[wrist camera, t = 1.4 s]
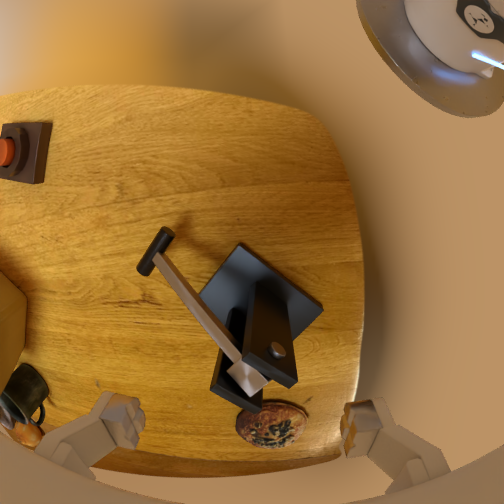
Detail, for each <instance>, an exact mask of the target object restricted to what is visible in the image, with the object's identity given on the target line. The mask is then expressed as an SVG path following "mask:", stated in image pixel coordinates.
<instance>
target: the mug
mask: <svg viewBox="0 0 504 504" xmlns="http://www.w3.org/2000/svg"><path fill="white" fill-rule="evenodd" d="M47 396H48V388H47V385H46V383H45V382H44V380H43V379H42V377H41V376H40V375H39V374H38V373H37V372H36V371H35V370H34V369H33V368H32V367H30V366H28V365H26V364H21V365H20V366H19V367H18V368H17V369H16V370H15V371H14V372H13V373H12V374H11V377H10V379H9V381H8V382H7V384H6V386H5V388H4V390H3V392H2V394H1V396H0V403H1V404H2V406H3V407H4V408H5V409H6V411H7V412H8V413H9V414H10V415H11V416H12V417H13V418H15V419H16V420H17V421H19V422H20V423H22V424H25V425H27V424H28V423H29V422H30V423H31V424H32V425H34V426H40V425H41V424H42V423H43V421H44V418H45V408H44V406H43V404H42V402H43V401H44V400H45V398H46V397H47ZM38 407H40V417H39V420H38V421H37V422H36V423H35V422H34V421H33V420H32V419H31V416H32V415H33V414H34V412H35V411H36V410H37V408H38Z"/></svg>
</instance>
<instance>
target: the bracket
mask: <svg viewBox="0 0 504 504" xmlns="http://www.w3.org/2000/svg"><path fill="white" fill-rule="evenodd" d="M198 295H199V296H200V298H201V299H202V300H203V301H204V302H205V304H206V305H207V306H208V307H209V308H210V310H211V311H212V312H213V313H214V314H215V316H216V317H217V318H218V319H219V320H220V321H221V323H222V324H223V325H224V326H225V327H226V328H227V330H228V331H229V332H230V333H231V334H232V335H233V336H234V338H235V339H236V340H237V341H238V342H239V343H240V344H241V345H242V347H243V351H242V359H241V361H243V362H244V363H246V364H248V365H249V366H251V367H252V368H254V369H256V370H257V371H259V372H261V373H262V374H264V375H266V376H267V377H269V378H271V379H273V380H274V381H276V382H278V383H279V384H281V385H283V386H285V387H287V388H288V389H290V388H291V387H292V386H293V385H294V384H296V383H297V382H298V377H297V369H296V362H295V355H294V348H293V340H294V339H296V338H297V337H298V336H299V335H300V334H301V333H302V332H303V331H304V330H305V329H306V328H307V327H308V326H309V325H310V324H311V323H312V322H313V321H314V320H315V319H316V318H317V317H318V316H319V315H320V314H321V313H322V312H323V311H324V309H323V307H322V305H321V304H319V303H318V302H317V301H315V300H314V299H313V298H312V297H310V296H309V295H308V294H306V293H305V292H304V291H302V290H301V289H300V288H299V287H297V286H296V285H295V284H293V283H292V282H291V281H290V280H288V279H287V278H286V277H284V276H283V275H282V274H280V273H279V272H278V271H277V270H275V269H274V268H273V267H271V266H270V265H269V264H267V263H266V262H265V261H264V260H262V259H261V258H260V257H258V256H257V255H256V254H255V253H253V252H252V251H251V250H249V249H248V248H247V247H245V246H244V245H243V244H242V243H239V244H238V245H237V246H236V248H235V249H234V250H233V251H232V253H231V254H230V255H229V256H228V258H227V259H226V260H225V261H224V263H223V264H222V265H221V266H220V268H219V269H218V270H217V271H216V273H215V274H214V275H213V276H212V278H211V279H210V280H209V281H208V283H207V284H206V285H205V286H204V288H203V289H202V290H201V291H200V293H199V294H198ZM233 364H234V363H233V362H232V361H231V360H230V358H229V357H228V356H227V355H226V354H225V353H224V351H223V350H222V349H221V348H219V353H218V357H217V361H216V365H215V369H214V373H213V377H212V381H211V385H210V391H212V392H213V393H215V394H217V395H219V396H220V397H222V398H224V399H226V400H228V401H229V402H231V403H233V404H235V405H237V406H239V407H241V408H242V409H244V410H246V411H248V412H250V413H252V414H254V415H255V414H257V413H258V412H259V411H261V410H262V400H263V388H262V389H260V390H259V391H258V392H257V393H255V394H254V395H253V396H252V397H249V396H248V395H247V393H246V392H245V391H244V390H243V389H242V388H241V387H240V386H239V385H238V384H237V382H236V381H235V380H234V379H233V378H232V377H231V376H230V375H229V373H228V372H227V370H228V369H229V368H230V367H231V366H232V365H233Z"/></svg>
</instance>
